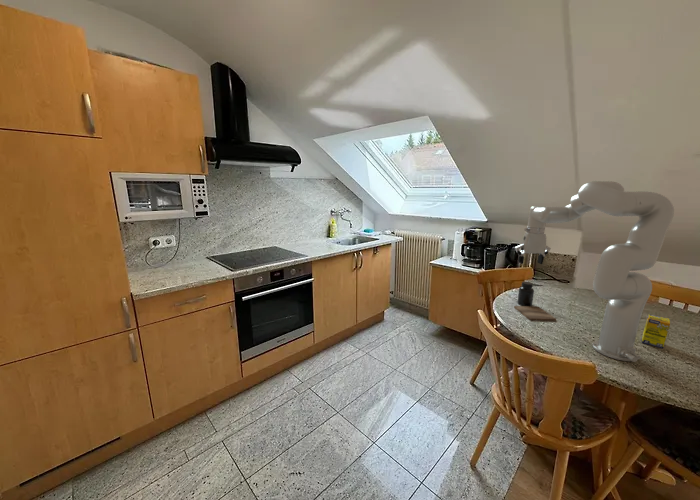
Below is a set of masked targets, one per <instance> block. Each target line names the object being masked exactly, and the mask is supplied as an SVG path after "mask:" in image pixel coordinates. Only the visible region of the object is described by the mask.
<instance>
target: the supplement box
mask: <svg viewBox="0 0 700 500" xmlns="http://www.w3.org/2000/svg"><path fill="white" fill-rule="evenodd" d="M670 326H671V321H670V318H665V317H662V316H657V315H653V314H649V313H648V314H647V318H646V321H645V325H644V329H643V333H642V335H641V344H644V345H649V346H653V347H656V348H658V349H662V350H663V349H664V347H665V343H666V340H667V337H668V334H669V330H670V328H671V327H670Z"/></svg>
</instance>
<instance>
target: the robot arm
mask: <svg viewBox="0 0 700 500" xmlns="http://www.w3.org/2000/svg"><path fill="white" fill-rule="evenodd" d="M674 207H675V206H674V205H673V203H672V201H671V200H670V199H669V198H668V197H667V196H665V195H663V194H661V193H658V192H652V191H625V188H624V186H623V185H622V184H620V183H619V182H616V181H610V180H608V181H605V180H603V181H601V180H598V181H597V180H595V181H594V180H593V181H589V182H586V183H584V184H583V185H582V186H581V187H580V188H579V189H578V192H577V193H576V194H575V195H572V196H571V198H570V201H569V204H568V205H565V206H543V205H533V206H531V207H529V208H530V209H529V212H528V220H527V227H525V228H524V234H523V237H522V240H521V244H519V245H517V246H514V249H515V251H516V253H517V255H518V258H517V259H518V260H517V262H518V263H519V264H522V265H523V264H524V261H525V255H526V254H538V257H537V264H540V265H543V263H544V259H545V257H546V255H548V254H549V252H550V251H551V249H552V248H551V247H549V246H548V245H547V236H546V235H547V234H546V233H545V231H546V230H545V229H546V224H556V223H557V224H560V223H562V224H563V223H567V222H568V223H569V222H571V221H574V220H578V219H580V218H582V217H583V216H584V215H585V214H586V213H589V212H592V211H595V210H597V211H599V212H602V213H604V214H607V215H608V216H613V217H620V218H622V217H638V220H637V221H635V223H634V224H633V225H632V227H631V228H630V231H629V233H628V237H627V239H626V241H625V243H615V244H612V245H609V246H607V247H605V249H604V250H603V252H601V254H600V257H599V260H598V263H597V265H596V266H597V267H596V269H595V274H594V277H593V281H592V289H593V291H594V293H595V295H597V296H598V297H599V298H600V299H602V300H603V299H604V300H608V301H607V303H606V306H605V310H604V315H603V319H602V323H601V328H600V332H599V333H600V334H599V337H598V340H594V341H592V343H591V346H592V348H593V350H595V351H596V352H598V353H599V354H601V355H603V356H605V357H609V358H611V359H615V360H618V361H623V362H635V363H636V362H637V361H638V360H641V358H642V356H641V355H639V354H638V353H636V351H637V350H636V349H637V348H636V347H635V346H634V345H635V342H636V338H637V334H638V330H639V325H640V322H641V319H642V316H643V315H642V314H643V311H644V309H645V306H646V304H647V301H648V300H649V298H650V296H651V294H652V291H653V283H652V281H651V280H650V278H649V277H648V276H646V275H645V274H643V273H640V272H636V271H645V270H649V269H651V268H653V267H654V266H655V265H656V263H657V260H658V258H659V255H660V253H661V252H660V251H661V250H662V247H663V244H664V241H665V238H666V235H667V232H668V229H669V227H670V226H671V223H672V221H673V218H674V215H675V209H674Z"/></svg>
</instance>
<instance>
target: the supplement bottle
mask: <svg viewBox="0 0 700 500" xmlns="http://www.w3.org/2000/svg"><path fill="white" fill-rule="evenodd" d="M533 286H534V285H533V283H532V282H530V281H522V282H521V286H520V287H519V288H518V294H517V295H518V296H517V304H518V306H533V301H534V294H535V289H534V288H533Z"/></svg>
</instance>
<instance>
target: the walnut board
mask: <svg viewBox="0 0 700 500" xmlns="http://www.w3.org/2000/svg"><path fill="white" fill-rule="evenodd" d="M513 308H514V309H515V310H516V311H518V312H519V313H520V314H521V315H523V316H524V318H526V319H527V320H529V321H542V322H543V321H544V322H547V321H548V322H549V321H551V322H556V321H557V318H556V317H554V316H553V315H551V314H550V313H548V312H547V311H545V310H544V309H543V308H541V307H540V306H534V305H532V306H522V305H514V307H513Z"/></svg>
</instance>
